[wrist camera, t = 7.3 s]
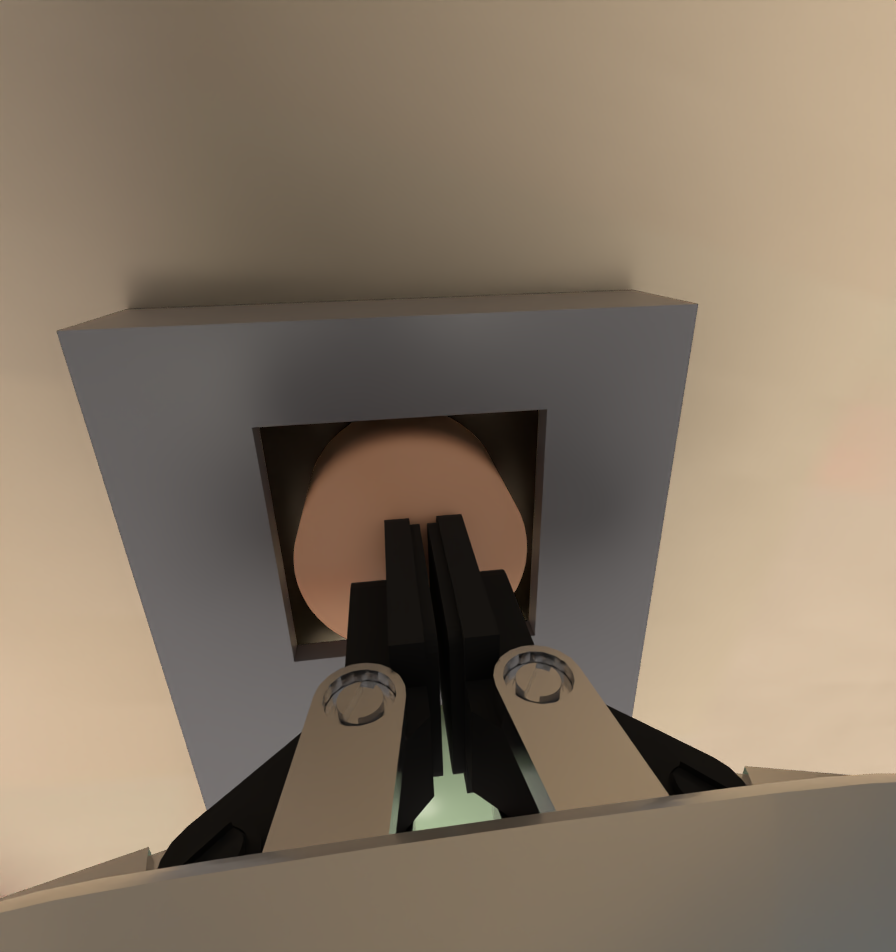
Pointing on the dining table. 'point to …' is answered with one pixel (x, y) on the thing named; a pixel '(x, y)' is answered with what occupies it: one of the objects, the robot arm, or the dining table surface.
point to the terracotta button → (398, 506)
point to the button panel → (360, 399)
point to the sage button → (452, 798)
